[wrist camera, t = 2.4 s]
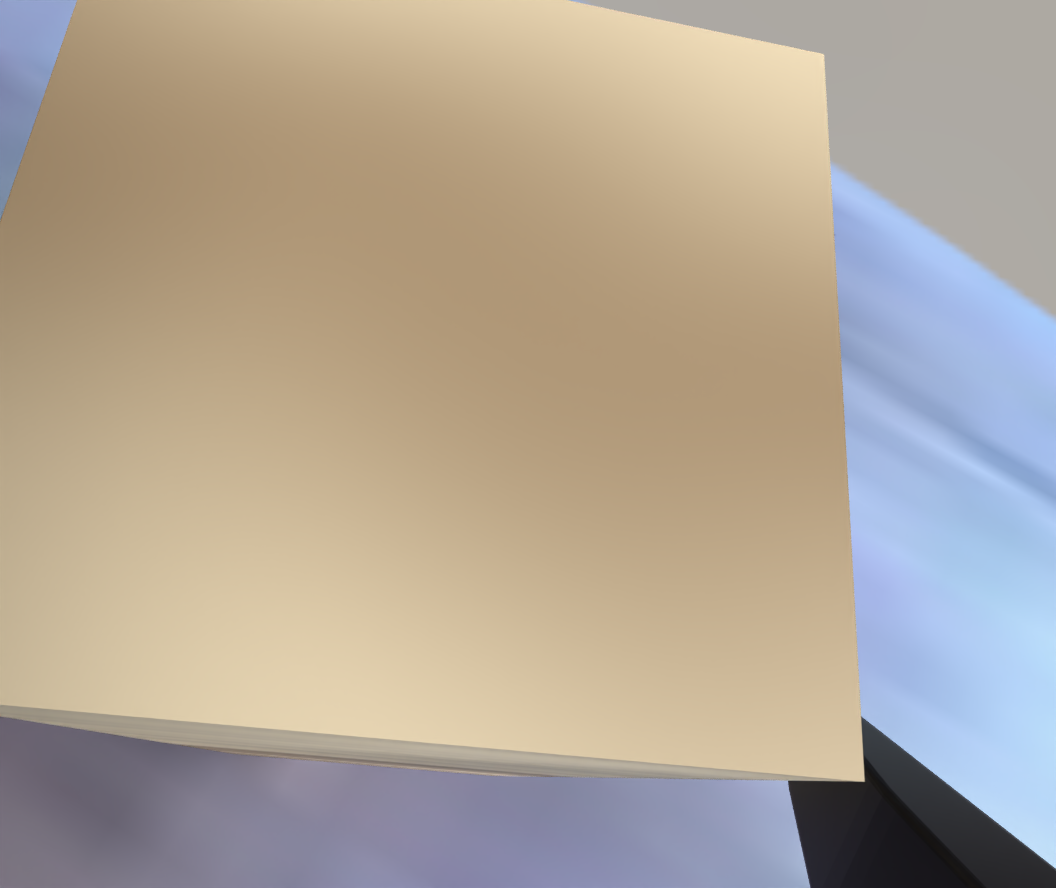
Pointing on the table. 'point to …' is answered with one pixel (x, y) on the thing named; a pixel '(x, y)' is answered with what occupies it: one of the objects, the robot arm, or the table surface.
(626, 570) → the birch block
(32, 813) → the table surface
